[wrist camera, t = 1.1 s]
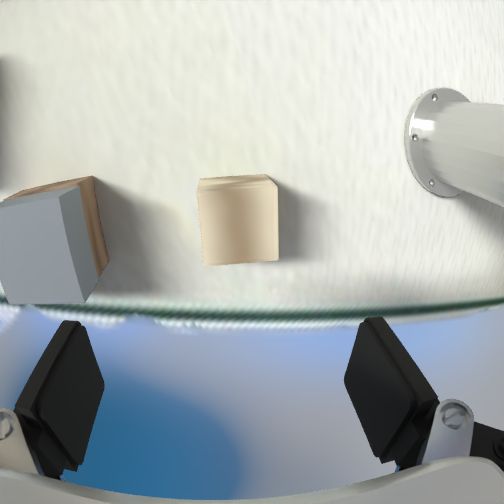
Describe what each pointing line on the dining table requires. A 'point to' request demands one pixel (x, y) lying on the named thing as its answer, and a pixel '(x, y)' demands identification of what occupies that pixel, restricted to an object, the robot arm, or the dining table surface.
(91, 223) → the walnut block
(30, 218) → the slate block
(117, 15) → the dining table surface
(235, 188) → the maple cube
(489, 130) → the robot arm
